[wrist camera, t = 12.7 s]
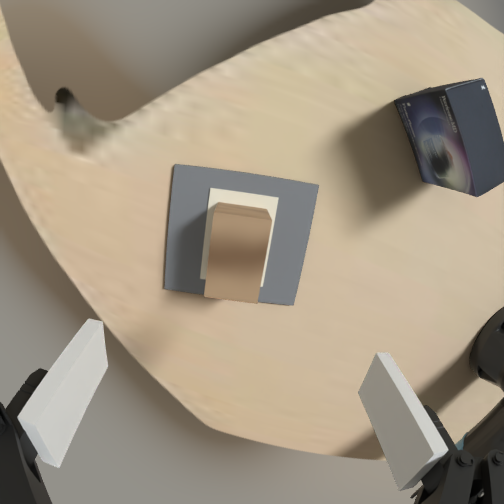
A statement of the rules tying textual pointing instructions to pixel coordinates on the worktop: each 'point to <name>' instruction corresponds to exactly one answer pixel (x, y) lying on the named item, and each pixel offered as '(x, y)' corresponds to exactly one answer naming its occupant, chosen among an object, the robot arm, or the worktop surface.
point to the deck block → (237, 252)
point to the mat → (248, 194)
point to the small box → (455, 136)
